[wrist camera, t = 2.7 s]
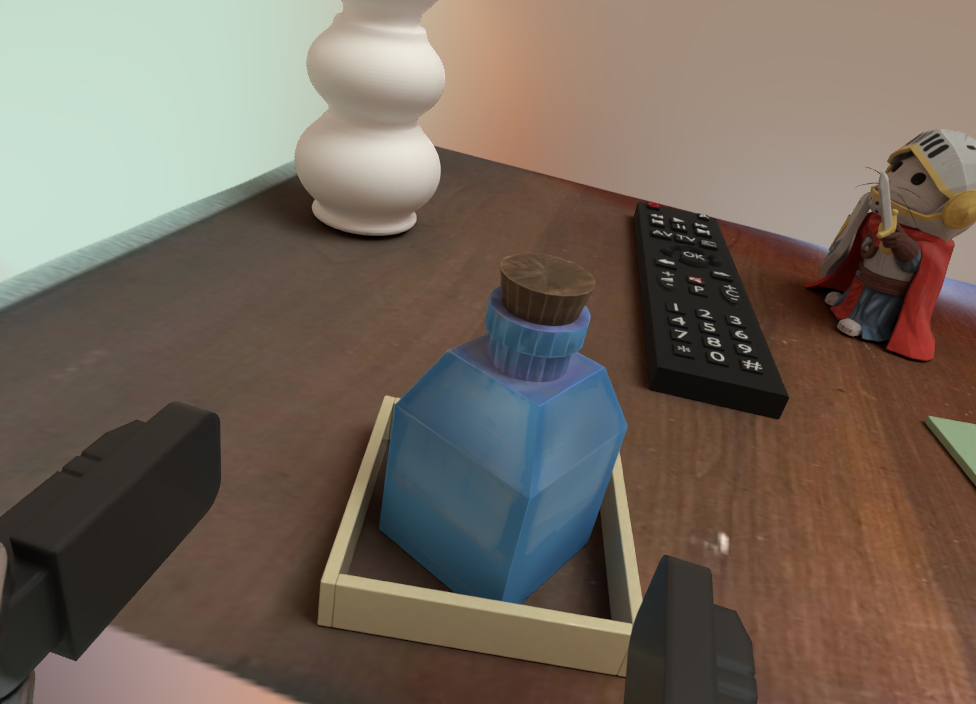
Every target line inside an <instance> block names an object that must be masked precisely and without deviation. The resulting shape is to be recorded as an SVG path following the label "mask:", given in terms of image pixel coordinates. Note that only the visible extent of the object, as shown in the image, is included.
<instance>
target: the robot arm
mask: <svg viewBox="0 0 976 704" xmlns="http://www.w3.org/2000/svg"><path fill="white" fill-rule="evenodd" d="M220 482H221V449H220V420H219V417H218V415H217V414H215V413H213V412H210V411H206V410H203V409H200V408H197V407H194V406H190V405H187V404H184V403H181V402H176V401H175V402H172V403H170V404H168V405H167V406H165V407H164V408H163V409H162V410H161V411H159V412H158V413H157V414H156V415H155V416H153V417H152V418H151V419H150V420H149V421H148V422H146V423H145V422H142V421H139V420H135V421H133V422H130V423H128V424H126V425H123V426H121V427H119V428H116V429H114V430H111V431H109V432H107V433H105V434H104V435H102V436H101V437H100V438H99V439H97V440H96V441H95V442H94V443H92V444H91V445H90V446H89V447H87V448H86V449H85V450H84V451H82V454H81V456H76V457H75V458H74V459H72V460H71V461H70V462H69V463H67V464H66V465H65V466H64V467H63V469H62V471H61V472H58V471H57V472H56V473H55V474H54V475H52V476H51V477H50V478H49V479H47V480H46V481H45V482H44V483H42V484H41V485H40V486H39V487H37V488H36V489H35V490H33V491H32V492H31V493H30V494H28V495H27V496H26V497H25V498H23V499H22V500H21V501H20V502H18V503H17V504H16V505H15V506H13V507H12V508H11V509H10V510H8V511H7V512H6V513H5V514H3V515H2V516H1V517H0V704H33V694H34V685H35V672H34V668H35V667H36V666H37V665H38V664H39V663H40V662H41V661H42V660H43V659H44V658H45V657H46V656H47V654H48V653H49V652H52V653H55V654H58V655H60V656H63V657H66V658H69V659H72V660H74V661H77V660H78V659H79V657H80V656H81V655H82V654H83V653H84V652H85V651H86V650H87V648H88V647H89V646H90V645H91V644H92V642H94V640H95V639H96V638H97V637H98V636H99V635H100V633H102V631H103V630H104V629H105V628H106V627H107V626H108V625H109V623H110V622H111V621H112V620H113V619H114V618H115V617H116V615H117V614H118V613H119V612H120V611H121V610H122V609H123V608H124V606H125V605H126V604H127V603H128V602H129V601H130V600H131V598H132V597H133V596H134V595H135V594H136V593H137V592H138V590H139V589H140V588H141V587H142V586H143V585H144V584H145V583H146V581H147V580H148V579H149V578H150V577H151V576H152V575H153V573H154V572H155V571H156V570H157V569H158V568H159V567H160V565H161V564H162V563H163V562H164V561H165V560H166V559H167V558H168V556H169V555H170V554H171V553H172V552H173V551H174V550H175V548H176V547H177V546H178V545H179V544H180V543H181V542H182V540H183V539H184V538H185V537H186V536H187V535H188V534H189V533H190V531H191V530H192V529H193V528H194V527H195V526H196V525H197V523H198V522H199V521H200V520H201V519H202V518H203V517H204V515H205V514H206V513H207V512H208V511H209V509H210V508H211V506H212V504H213V503H214V500H215V498H216V496H217V494H218V490H219V487H220ZM754 675H755V667H754V658H753V648H752V641H751V639H750V637H749V635H748V634H747V632H746V630H745V628H744V626H743V624H742V622H741V620H740V618H739V616H738V614H737V612H736V611H734V610H731V609H728V608H725V607H721V606H718V605H715V604H713V586H712V574H711V570H710V569H709V568H707V567H703V566H700V565H697V564H694V563H690V562H687V561H684V560H681V559H678V558H674V557H671V556H668V555H664V556H663V557H662V559H661V560H660V562H659V564H658V567H657V569H656V571H655V574H654V576H653V578H652V580H651V583H650V585H649V587H648V590H647V592H646V594H645V596H644V599H643V601H642V603H641V606H640V608H639V610H638V613H637V615H636V618H635V621H634V624H633V628H632V631H631V636H630V641H629V647H628V655H627V668H626V681H625V694H624V704H757V699H758V695H757V686H756V679H754Z"/></svg>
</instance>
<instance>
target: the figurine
mask: <svg viewBox="0 0 976 704" xmlns="http://www.w3.org/2000/svg"><path fill="white" fill-rule="evenodd" d="M887 162H888V163H889V164H890V166H889V167H888V168H887V170H886V171H885V172H884V170H882V172H881V173H879V174H880V178H879V183H878V185H877V186H874V187H871V191H870V192H868V193H866V194H864V195H863V196H862V197H861V198H860V200H859V202H858V204H857V205H856V207H855V209H854V210H853V212H852V214H851V215H850V214H849V216H848V218H847V219H846V221H845V223H844V224H843V226H842V228H841V230H840V231H839V233H838V235H837V237H836V238H835V240H834V242H833V243H832V245H831V247H830V249H829V250H830V252H829V253H828V255H827V257H826V259H825V260H824V262H823V263H822V264H821V267H820V269H819V271H818V274H820V275H823V276H826V277H824V278H822V279H820V280H818V281H816V282H813V283H808V284H805V287H821V286H822V287H827V288H832V289H836V290H839V291H843V292H844V293H843V294H841V293H839V292H831V293H829V294H828V295H827V296H826V298H825V302H826V303H827V304H829V305H832V306H834V307H830V311H832V312H833V313H834V315H835V317H836V318H837V319H838V320H841V321H839V323H838V325H837V328H838V329H839V330H841V331H842V332H844V333H846V334H848V335H850V336H858V335H862V339H866V340H873V341H878V342H879V341H885V340H889V342H888V345H887V347H886V349H888V350H890V351H893V352H895V353H898V354H900V355H903V356H905V357H908V358H911V359H915V360H920V361H927V360H930V359H933V357H934V349H935V338H934V336H933V334H932V331H931V328H930V320H931V314H932V311H933V308H934V305H935V303H936V300H937V298H938V296H939V293H940V291H941V288H942V285H943V282H944V278H945V275H946V271H947V267H948V264H949V261H950V258H951V255H952V252H953V248H954V241H953V240H952V238H954V237H956V236H957V235H959V234H961V233H962V232H964V231H966V230H967V229H968V228H969V227H971V226H972V225H973V224H974V223H975V222H976V141H975V140H974V139H972V138H971V137H969V136H968V135H966V134H965V133H962V132H957V131H950V130H945V129H935V130H931V131H927V132H923V133H921V134H920V135H918V136H917V137H915V138H914V139H913V140H911V141H910V142H908V143H907V144H906V145H904V146H903V147H901V148H900V149H898V150H897V151H895V152H894V153H893V154H891V155H890V157H889V159H888V161H887ZM870 169H871V168H870ZM875 171H876V170H875ZM877 172H878V171H877ZM869 209H871V211H872V212H870V213H868V211H869ZM897 317H898V320H897V323H896V326H895V327H894V326H893V325H894V323H895V321H896V319H897Z"/></svg>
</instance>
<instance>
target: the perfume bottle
mask: <svg viewBox="0 0 976 704" xmlns="http://www.w3.org/2000/svg"><path fill="white" fill-rule="evenodd" d="M500 274H501V286H500V287H498V288H496V289H494V290H493V291H492V293H491V295H490V297H489V302H488V307H487V312H486V317H485V326H486V330H487V331H488V332H489V333H487V334H485V335H483V336H480V337H478V338H476V339H473V340H471V341H469V342H466V343H464V344H462V345H459V346H457V347H455V348H452V349H450V350H448V351H447V352H446V353H445V354H444V355H443V356H442V357H441V358H440V359H439V360H438V361H437V362H436V363H435V364H434V365H433V366H432V367H431V368H430V369H429V370H428V371H427V372H426V373H425V374H424V375H423V376H422V377H421V378H420V379H419V380H418V381H417V382H416V383H415V384H414V386H413V387H412V388H411V389H410V390H409V391H408V392H407V393H406V394H405V395H404V396H403V397H402V398H401V399H400V400H399V401H398V402H397V403H396V404H395V407H394V414H393V422H392V430H391V438H390V446H389V454H388V461H387V469H386V477H385V485H384V493H383V501H382V509H381V516H380V524H379V529H380V530H381V531H382V532H383V533H384V534H386V535H387V536H388V537H389V538H390V539H391V540H393V541H394V542H395V543H396V544H397V545H399V546H400V547H401V548H402V549H403V550H404V551H406V552H407V553H408V554H409V555H410V556H412V557H413V558H414V559H415V560H416V561H417V562H419V563H420V564H421V565H422V566H423V567H425V568H426V569H427V570H428V571H429V572H430V573H432V574H433V575H434V576H435V577H436V578H438V579H439V580H440V581H441V582H442V583H443V584H445V585H446V586H447V587H448V588H449V589H451V590H452V591H453V592H454V593H456V594H462V595H468V596H474V597H479V598H485V599H491V600H497V601H503V602H509V603H514V604H521V603H522V602H523V601H524V600H525V599H526V598H527V597H529V596H530V595H531V594H532V593H533V592H534V591H535V590H536V589H537V588H538V587H540V586H541V585H542V584H543V583H544V582H545V581H546V580H547V579H548V578H550V577H551V576H552V575H553V574H554V573H555V572H556V571H557V570H558V569H559V568H561V567H562V566H563V565H564V564H565V563H566V562H567V561H568V560H569V559H571V558H572V557H573V556H574V555H575V554H576V553H577V552H578V551H579V550H581V549H582V548H583V547H584V546H585V545H586V544H587V543H588V541H589V538H590V535H591V532H592V529H593V526H594V524H595V521H596V518H597V515H598V512H599V509H600V506H601V503H602V500H603V497H604V494H605V491H606V488H607V486H608V483H609V480H610V477H611V474H612V471H613V468H614V465H615V462H616V459H617V456H618V453H619V450H620V448H621V445H622V442H623V439H624V436H625V433H626V430H627V427H628V426H627V423H626V421H625V418H624V416H623V413H622V410H621V408H620V405H619V403H618V400H617V398H616V395H615V392H614V390H613V387H612V385H611V382H610V379H609V377H608V374H607V372H606V369H605V367H603V366H602V365H600V364H598V363H596V362H594V361H592V360H591V359H589V358H587V357H585V356H583V355H581V354H580V353H578V352H577V351H578V350H579V349H581V348H582V346H583V342H584V339H585V335H586V332H587V328H588V325H589V321H590V317H591V315H590V313H589V311H588V308H587V307H586V306H585V304H586V302H587V300H588V299H589V297H590V295H591V293H592V291H593V289H594V287H595V283H596V282H595V280H594V278H593V276H592V275H591V274H590V273H589V272H588V271H587V270H585V269H584V268H582V267H580V266H579V265H577V264H575V263H573V262H570V261H568V260H565V259H562V258H559V257H555V256H551V255H546V254H538V253H519V254H514V255H510V256H508V257H506V258H504V259H503V260H502V262H501V264H500Z"/></svg>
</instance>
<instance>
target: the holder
mask: <svg viewBox="0 0 976 704" xmlns="http://www.w3.org/2000/svg"><path fill="white" fill-rule="evenodd" d="M400 399H401V398H395V397H390V396H385V397H384V399H383V402H382V405H381V408H380V411H379V414H378V417H377V420H376V422H375V425H374V428H373V431H372V434H371V437H370V440H369V443H368V446H367V448H366V451H365V454H364V457H363V460H362V463H361V466H360V469H359V472H358V475H357V477H356V480H355V483H354V486H353V489H352V492H351V495H350V498H349V501H348V503H347V506H346V509H345V512H344V515H343V518H342V521H341V524H340V527H339V529H338V532H337V535H336V538H335V541H334V544H333V547H332V550H331V553H330V556H329V558H328V561H327V564H326V567H325V570H324V573H323V576H322V579H321V582H320V595H319V609H318V625H322V626H328V627H331V626H332V627H334V628H339V629H345V630H351V631H357V632H363V633H369V634H375V635H381V636H387V637H392V638H398V639H404V640H410V641H416V642H422V643H428V644H434V645H440V646H446V647H451V648H457V649H463V650H469V651H475V652H481V653H487V654H493V655H499V656H505V657H510V658H516V659H522V660H528V661H534V662H540V663H546V664H552V665H558V666H564V667H569V668H575V669H581V670H587V671H593V672H599V673H605V674H611V675H618V676H623V677H626V668H627V655H628V647H629V641H630V636H631V631H632V628H633V624H634V621H635V618H636V615H637V613H638V610H639V608H640V606H641V603H642V594H641V588H640V581H639V575H638V568H637V562H636V555H635V549H634V542H633V536H632V529H631V523H630V516H629V510H628V503H627V497H626V490H625V484H624V477H623V471H622V465H621V458H620V452H619V453H618V456H617V459H616V462H615V465H614V468H613V471H612V474H611V477H610V480H609V483H608V486H607V488H606V491H605V494H604V497H603V500H602V503H601V506H600V514H601V524H602V533H603V543H604V552H605V562H606V572H607V581H608V591H609V600H610V610H611V620H607V619H602V618H596V617H590V616H584V615H578V614H573V613H567V612H561V611H555V610H549V609H543V608H538V607H532V606H526V605H520V604H514V603H509V602H503V601H497V600H491V599H485V598H479V597H474V596H468V595H462V594H456V593H450V592H445V591H439V590H433V589H427V588H421V587H416V586H410V585H404V584H398V583H392V582H386V581H381V580H375V579H369V578H363V577H357V576H352V575H348V571H349V568H350V565H351V561H352V558H353V555H354V552H355V548H356V545H357V542H358V539H359V535H360V532H361V529H362V526H363V522H364V519H365V516H366V513H367V509H368V506H369V503H370V500H371V496H372V493H373V490H374V487H375V483H376V480H377V477H378V473H379V470H380V467H381V464H382V460H383V457H384V454H385V451H386V447H387V444H388V441H389V440H390V438H391V430H392V422H393V414H394V407H395V404H396V403H397V402H398V401H399V400H400Z"/></svg>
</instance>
